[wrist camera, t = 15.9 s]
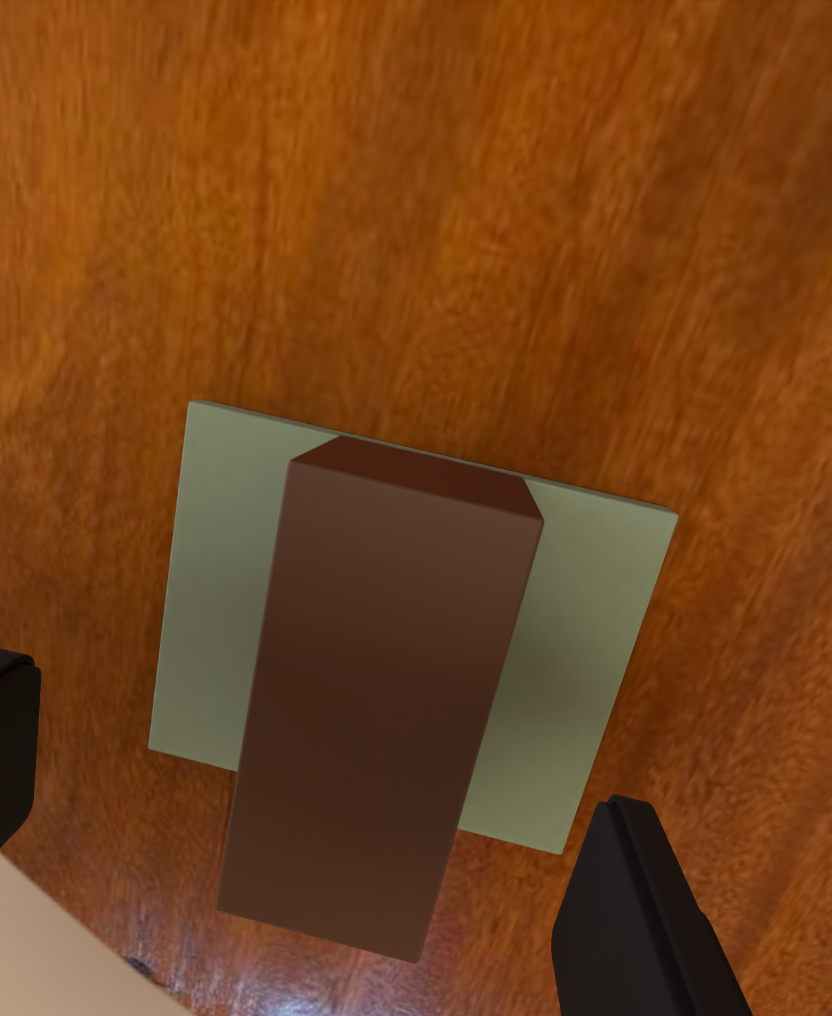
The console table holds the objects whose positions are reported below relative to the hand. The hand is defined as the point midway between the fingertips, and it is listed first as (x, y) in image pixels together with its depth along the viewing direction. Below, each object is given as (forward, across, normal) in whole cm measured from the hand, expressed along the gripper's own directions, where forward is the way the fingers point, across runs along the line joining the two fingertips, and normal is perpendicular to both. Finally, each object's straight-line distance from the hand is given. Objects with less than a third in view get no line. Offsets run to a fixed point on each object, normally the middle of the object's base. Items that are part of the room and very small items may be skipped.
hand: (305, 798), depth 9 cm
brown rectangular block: (+6, -1, 0) cm, 6 cm away
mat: (+6, -1, 0) cm, 6 cm away
